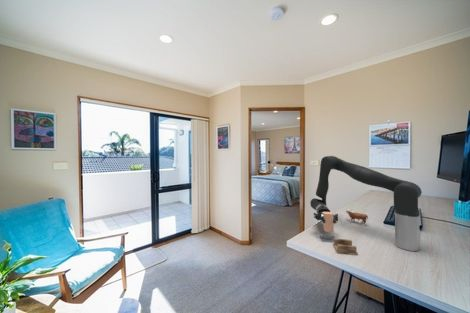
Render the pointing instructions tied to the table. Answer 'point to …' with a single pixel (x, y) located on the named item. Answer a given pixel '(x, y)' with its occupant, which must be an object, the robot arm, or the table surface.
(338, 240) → the slotted rack
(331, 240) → the rubber mat
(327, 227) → the tall salmon pink block
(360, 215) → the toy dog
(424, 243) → the table surface
